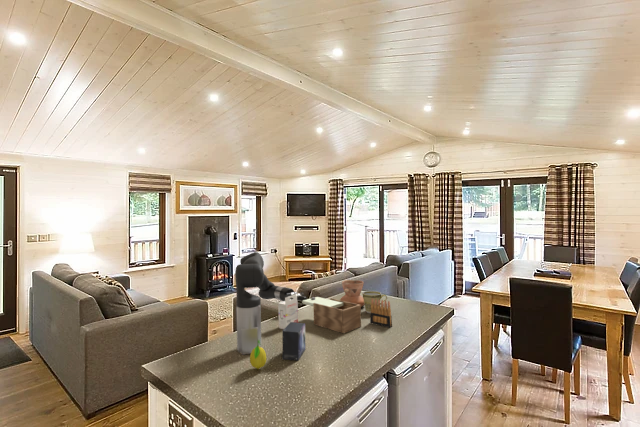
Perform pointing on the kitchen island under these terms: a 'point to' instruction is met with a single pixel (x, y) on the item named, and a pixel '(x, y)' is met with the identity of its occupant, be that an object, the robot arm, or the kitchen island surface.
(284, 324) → the ink cartridge box
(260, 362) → the lemon
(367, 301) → the ceramic cup
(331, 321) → the wooden box
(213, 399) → the kitchen island surface
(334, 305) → the lid
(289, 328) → the small box
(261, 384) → the kitchen island surface
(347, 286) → the ceramic jug
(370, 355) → the kitchen island surface
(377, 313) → the ammunition clip
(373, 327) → the kitchen island surface
